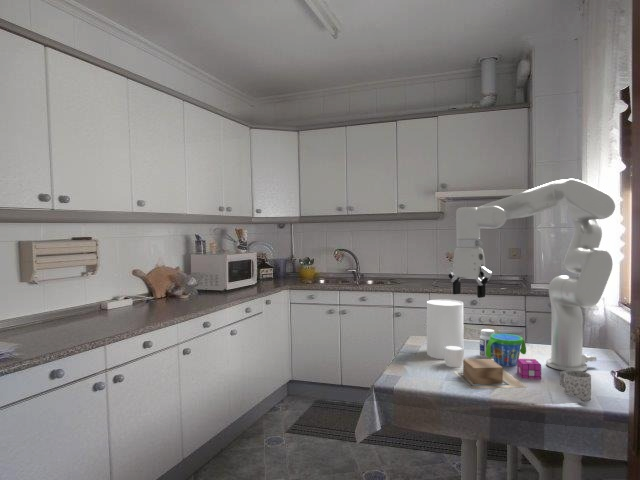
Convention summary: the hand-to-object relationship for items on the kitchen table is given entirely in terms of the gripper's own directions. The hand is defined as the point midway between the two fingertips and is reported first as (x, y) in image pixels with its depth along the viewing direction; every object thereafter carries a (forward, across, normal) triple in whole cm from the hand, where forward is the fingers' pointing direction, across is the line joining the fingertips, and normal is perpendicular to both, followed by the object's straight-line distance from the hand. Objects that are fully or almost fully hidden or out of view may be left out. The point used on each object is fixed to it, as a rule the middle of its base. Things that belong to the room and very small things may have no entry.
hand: (468, 295), depth 152 cm
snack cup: (+26, -3, -17) cm, 32 cm away
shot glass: (+26, +7, 0) cm, 27 cm away
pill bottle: (+26, +8, -21) cm, 35 cm away
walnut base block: (+25, -8, +4) cm, 27 cm away
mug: (+27, -30, -8) cm, 41 cm away
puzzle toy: (+26, -15, -10) cm, 32 cm away
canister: (+26, +19, -10) cm, 34 cm away
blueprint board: (+26, -9, +3) cm, 28 cm away
